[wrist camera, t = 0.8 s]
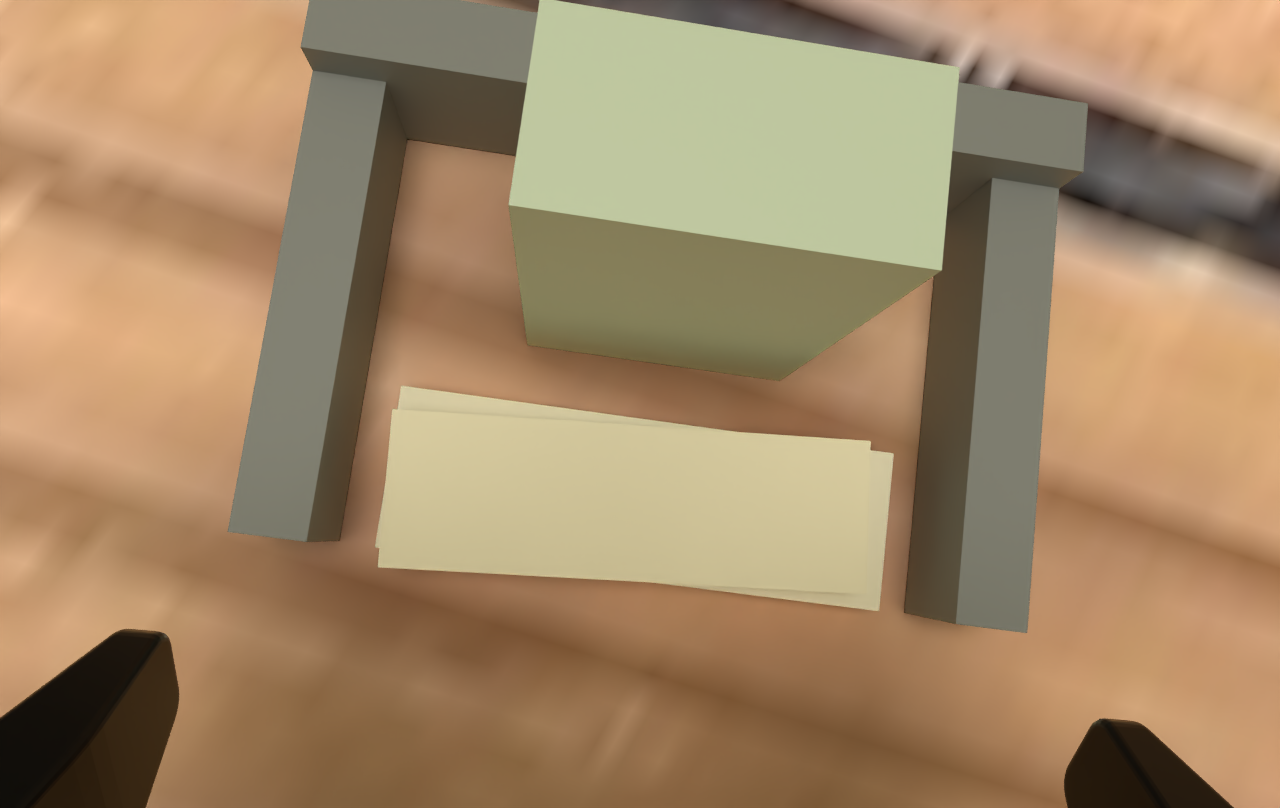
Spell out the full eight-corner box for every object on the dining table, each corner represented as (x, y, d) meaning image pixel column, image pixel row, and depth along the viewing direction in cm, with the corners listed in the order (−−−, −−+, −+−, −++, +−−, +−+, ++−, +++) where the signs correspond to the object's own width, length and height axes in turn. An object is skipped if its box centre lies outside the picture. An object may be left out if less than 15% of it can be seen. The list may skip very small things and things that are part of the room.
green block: (779, 380, 24) (941, 270, 14) (527, 345, 23) (508, 204, 13) (792, 259, 24) (959, 67, 14) (545, 222, 24) (540, -3, 14)
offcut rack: (965, 635, 23) (1050, 656, 19) (268, 547, 22) (206, 550, 18) (1002, 172, 25) (1087, 103, 21) (353, 69, 24) (313, -24, 20)
